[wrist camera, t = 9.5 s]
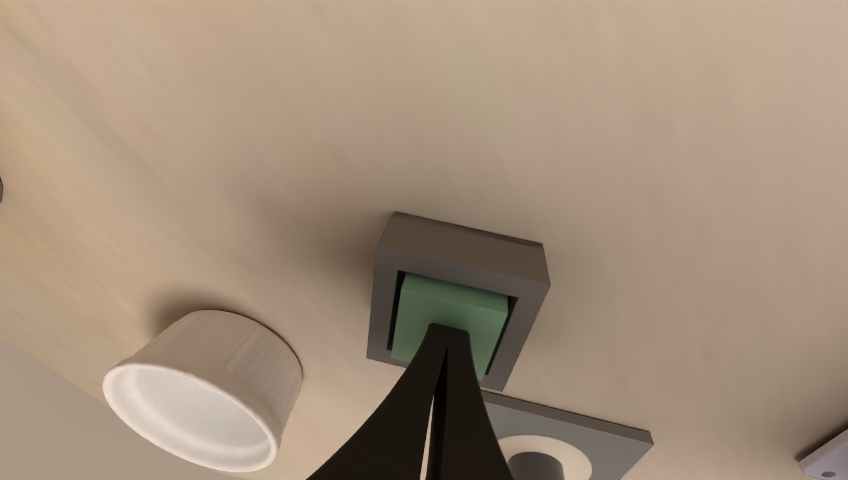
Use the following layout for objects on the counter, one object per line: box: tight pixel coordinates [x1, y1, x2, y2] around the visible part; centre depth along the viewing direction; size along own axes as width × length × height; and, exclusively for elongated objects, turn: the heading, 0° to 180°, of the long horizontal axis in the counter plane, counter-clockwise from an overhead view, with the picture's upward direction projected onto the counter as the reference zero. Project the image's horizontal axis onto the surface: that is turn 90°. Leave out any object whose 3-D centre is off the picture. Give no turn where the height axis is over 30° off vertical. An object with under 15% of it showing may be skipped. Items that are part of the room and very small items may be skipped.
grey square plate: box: [481, 391, 654, 480], centre depth 21 cm, size 9×9×1 cm
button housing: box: [366, 212, 551, 392], centre depth 14 cm, size 6×6×2 cm
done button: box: [391, 272, 508, 381], centre depth 14 cm, size 4×4×2 cm
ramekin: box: [103, 310, 302, 472], centre depth 19 cm, size 9×9×4 cm
